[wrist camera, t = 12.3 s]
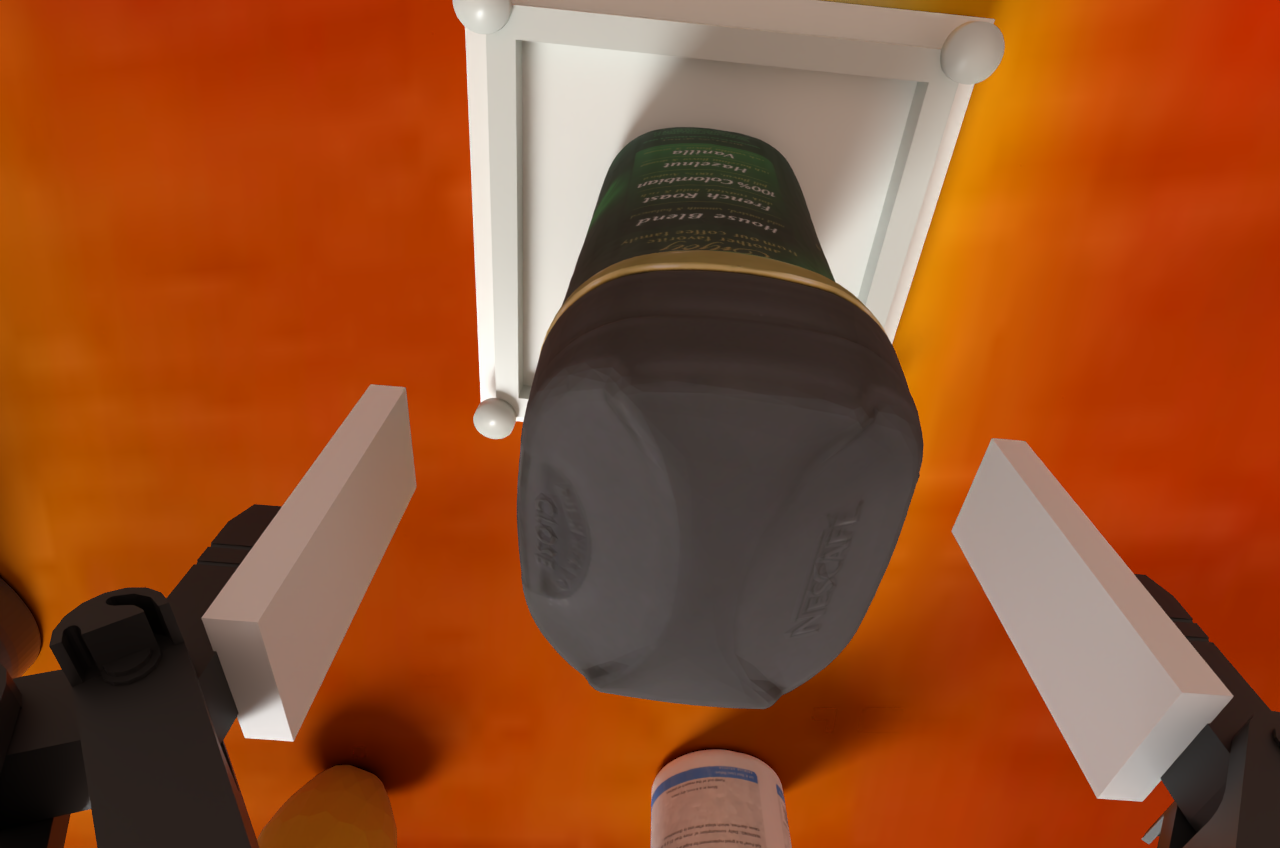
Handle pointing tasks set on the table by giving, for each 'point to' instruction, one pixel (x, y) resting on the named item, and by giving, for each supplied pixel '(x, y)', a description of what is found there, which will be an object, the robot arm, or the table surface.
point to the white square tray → (705, 98)
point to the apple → (334, 814)
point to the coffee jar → (709, 436)
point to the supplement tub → (718, 803)
